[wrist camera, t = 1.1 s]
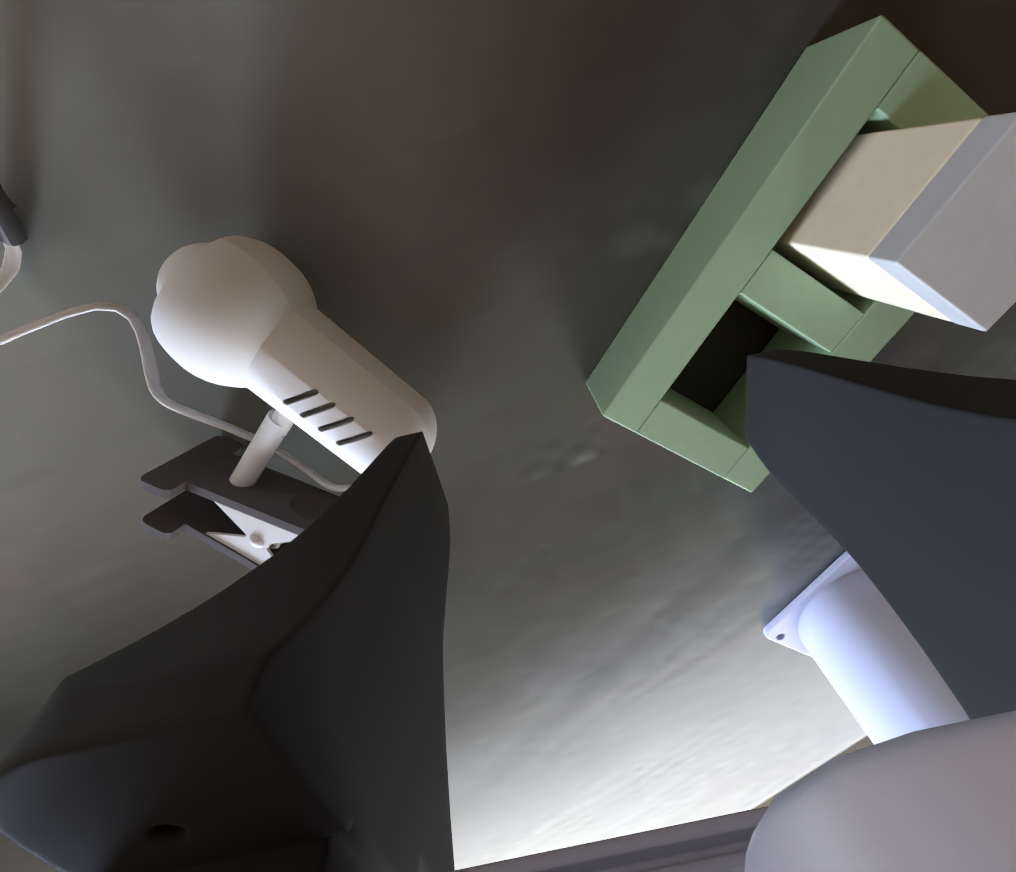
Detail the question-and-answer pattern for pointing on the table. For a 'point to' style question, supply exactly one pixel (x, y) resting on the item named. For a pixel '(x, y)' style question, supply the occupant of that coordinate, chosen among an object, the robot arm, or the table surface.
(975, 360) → the table surface
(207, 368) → the clip-on lamp
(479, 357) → the table surface
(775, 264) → the holder
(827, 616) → the robot arm
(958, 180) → the cream rectangular block
